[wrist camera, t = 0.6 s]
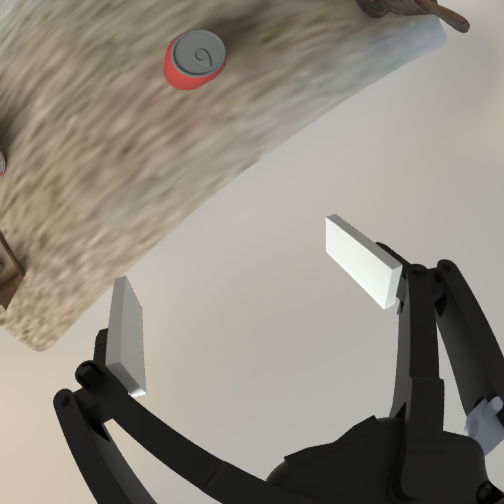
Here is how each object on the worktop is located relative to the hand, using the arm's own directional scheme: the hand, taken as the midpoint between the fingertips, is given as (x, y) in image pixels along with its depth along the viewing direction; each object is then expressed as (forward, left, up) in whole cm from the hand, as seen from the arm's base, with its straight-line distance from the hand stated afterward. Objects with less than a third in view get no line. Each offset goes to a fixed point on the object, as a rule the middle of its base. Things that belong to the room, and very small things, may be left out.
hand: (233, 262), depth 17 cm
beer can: (-15, +4, -27) cm, 31 cm away
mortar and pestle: (-22, +41, -27) cm, 53 cm away
